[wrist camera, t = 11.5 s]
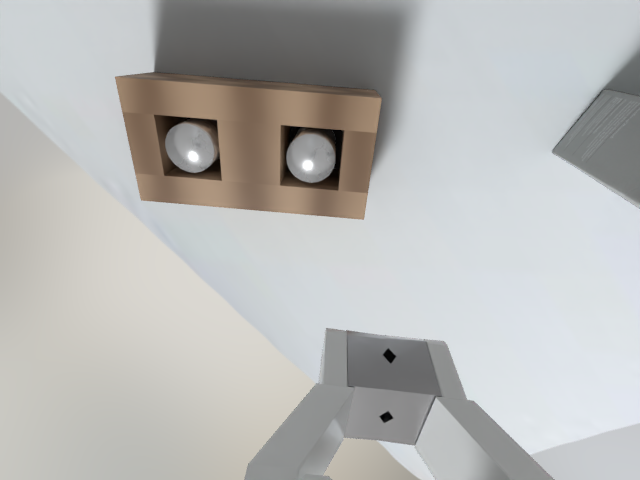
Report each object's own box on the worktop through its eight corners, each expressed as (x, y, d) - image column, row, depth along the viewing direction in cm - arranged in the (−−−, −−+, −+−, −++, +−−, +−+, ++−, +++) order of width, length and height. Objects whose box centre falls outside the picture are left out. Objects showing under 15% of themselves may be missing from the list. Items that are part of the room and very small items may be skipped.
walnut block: (170, 178, 35) (140, 200, 30) (153, 72, 30) (114, 76, 25) (360, 194, 35) (363, 219, 30) (374, 89, 30) (381, 98, 25)
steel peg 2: (294, 161, 33) (285, 180, 28) (295, 119, 31) (286, 132, 26) (334, 165, 33) (333, 184, 28) (338, 123, 31) (337, 136, 26)
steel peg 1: (193, 153, 33) (169, 170, 29) (188, 110, 31) (161, 121, 27) (233, 156, 33) (215, 174, 29) (231, 114, 31) (211, 125, 27)
